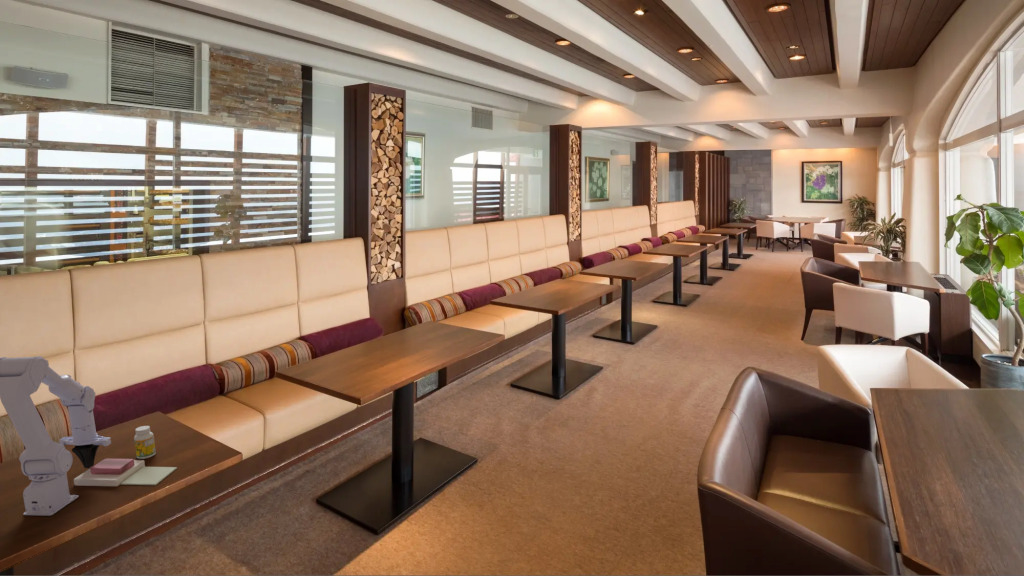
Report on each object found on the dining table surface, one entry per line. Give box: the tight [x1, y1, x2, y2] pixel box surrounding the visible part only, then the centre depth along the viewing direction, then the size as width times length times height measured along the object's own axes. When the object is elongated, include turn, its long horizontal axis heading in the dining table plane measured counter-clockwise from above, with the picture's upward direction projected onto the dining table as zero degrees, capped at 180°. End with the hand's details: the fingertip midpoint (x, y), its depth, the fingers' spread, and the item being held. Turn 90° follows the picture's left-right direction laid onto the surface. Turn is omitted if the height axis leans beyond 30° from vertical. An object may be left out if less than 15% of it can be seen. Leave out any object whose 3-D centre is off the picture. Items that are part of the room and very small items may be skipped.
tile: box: [89, 458, 135, 475], centre depth 171 cm, size 6×9×2 cm, turn 88°
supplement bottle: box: [133, 425, 157, 460], centre depth 183 cm, size 5×5×10 cm
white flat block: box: [73, 459, 146, 487], centre depth 171 cm, size 12×13×2 cm
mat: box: [120, 466, 178, 486], centre depth 171 cm, size 10×11×1 cm
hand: (89, 466), depth 171 cm, fingers closed
